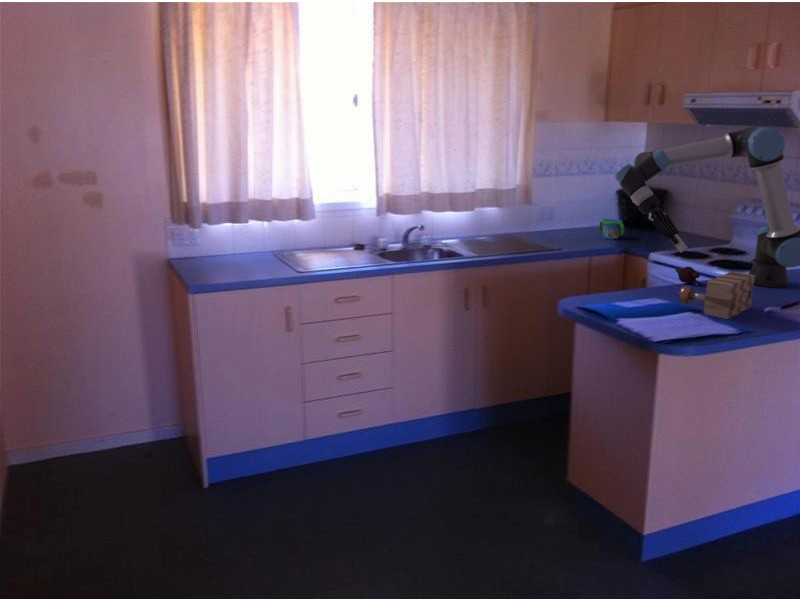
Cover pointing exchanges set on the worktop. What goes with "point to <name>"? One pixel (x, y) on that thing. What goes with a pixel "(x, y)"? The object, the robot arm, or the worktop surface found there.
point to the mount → (728, 294)
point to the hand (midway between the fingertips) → (684, 250)
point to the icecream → (688, 275)
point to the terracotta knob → (690, 295)
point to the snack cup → (611, 228)
